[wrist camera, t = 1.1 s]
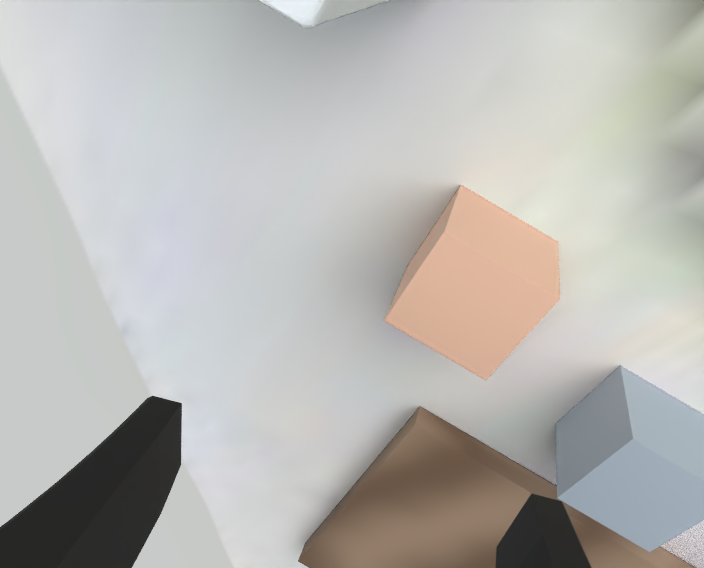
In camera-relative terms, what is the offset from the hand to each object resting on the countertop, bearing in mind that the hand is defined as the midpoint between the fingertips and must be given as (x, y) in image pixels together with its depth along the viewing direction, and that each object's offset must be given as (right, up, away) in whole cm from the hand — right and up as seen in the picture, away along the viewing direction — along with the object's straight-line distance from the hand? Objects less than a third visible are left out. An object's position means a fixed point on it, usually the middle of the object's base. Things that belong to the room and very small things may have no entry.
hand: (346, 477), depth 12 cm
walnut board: (+7, -11, +18) cm, 22 cm away
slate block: (+11, -2, +12) cm, 16 cm away
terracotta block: (+5, +5, +10) cm, 12 cm away
